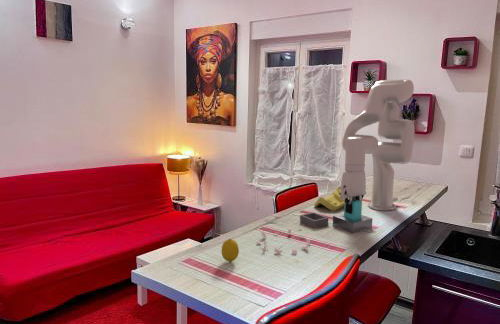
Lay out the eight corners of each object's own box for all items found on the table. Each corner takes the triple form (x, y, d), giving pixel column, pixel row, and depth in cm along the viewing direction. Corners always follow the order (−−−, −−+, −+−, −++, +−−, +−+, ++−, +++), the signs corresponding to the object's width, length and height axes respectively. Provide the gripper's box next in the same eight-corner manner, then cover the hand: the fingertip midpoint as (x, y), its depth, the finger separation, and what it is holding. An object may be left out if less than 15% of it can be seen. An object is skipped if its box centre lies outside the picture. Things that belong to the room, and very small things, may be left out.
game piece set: (246, 242, 137) (246, 232, 136) (286, 231, 148) (287, 222, 148) (280, 261, 121) (280, 249, 120) (323, 246, 133) (323, 236, 132)
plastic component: (336, 207, 171) (318, 194, 176) (329, 219, 174) (312, 207, 179) (355, 195, 186) (338, 184, 191) (349, 207, 189) (332, 195, 194)
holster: (313, 218, 162) (313, 212, 161) (328, 224, 154) (328, 217, 154) (300, 221, 158) (300, 215, 158) (314, 228, 150) (314, 221, 150)
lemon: (225, 267, 116) (224, 243, 115) (219, 260, 121) (218, 237, 120) (241, 264, 118) (241, 240, 117) (235, 257, 123) (234, 234, 122)
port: (351, 220, 159) (351, 211, 159) (371, 227, 150) (372, 218, 150) (332, 225, 154) (333, 215, 153) (352, 233, 145) (353, 223, 144)
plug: (350, 216, 155) (351, 194, 153) (361, 220, 150) (362, 197, 149) (343, 218, 153) (344, 196, 151) (354, 222, 148) (355, 199, 146)
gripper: (361, 164, 155) (359, 206, 158) (332, 168, 147) (331, 213, 150) (376, 167, 149) (373, 211, 152) (346, 171, 140) (344, 217, 143)
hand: (352, 211), depth 151 cm, fingers closed on plug, 4 cm apart
